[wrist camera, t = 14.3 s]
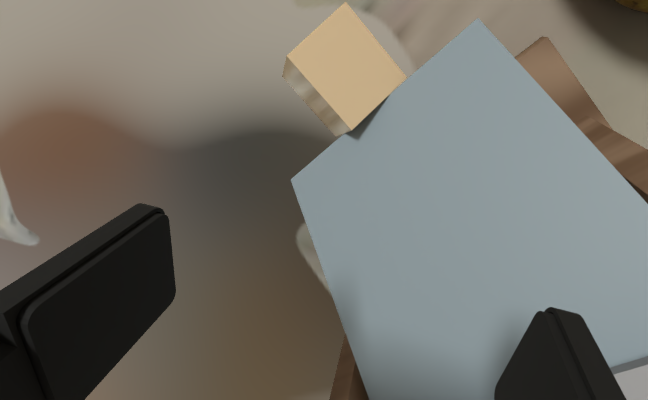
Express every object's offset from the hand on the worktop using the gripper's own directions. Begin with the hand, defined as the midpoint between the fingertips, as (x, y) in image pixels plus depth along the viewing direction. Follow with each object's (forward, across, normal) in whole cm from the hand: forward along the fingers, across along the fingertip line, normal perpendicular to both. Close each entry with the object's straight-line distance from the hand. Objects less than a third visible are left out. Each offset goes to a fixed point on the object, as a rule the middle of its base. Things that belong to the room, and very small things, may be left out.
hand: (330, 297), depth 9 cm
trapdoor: (+11, -6, +6) cm, 14 cm away
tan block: (+19, +2, 0) cm, 19 cm away
